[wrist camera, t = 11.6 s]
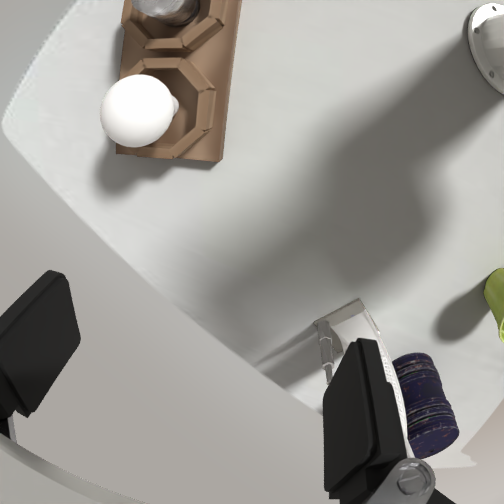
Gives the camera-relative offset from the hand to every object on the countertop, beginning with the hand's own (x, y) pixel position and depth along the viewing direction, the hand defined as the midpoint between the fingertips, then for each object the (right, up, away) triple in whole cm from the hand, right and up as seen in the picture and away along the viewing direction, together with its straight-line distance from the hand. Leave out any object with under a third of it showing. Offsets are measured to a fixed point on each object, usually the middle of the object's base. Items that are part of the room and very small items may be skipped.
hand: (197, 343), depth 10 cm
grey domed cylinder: (-6, +27, +15) cm, 32 cm away
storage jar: (+28, -17, +37) cm, 49 cm away
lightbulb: (-7, +18, +20) cm, 28 cm away
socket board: (-6, +24, +19) cm, 31 cm away
